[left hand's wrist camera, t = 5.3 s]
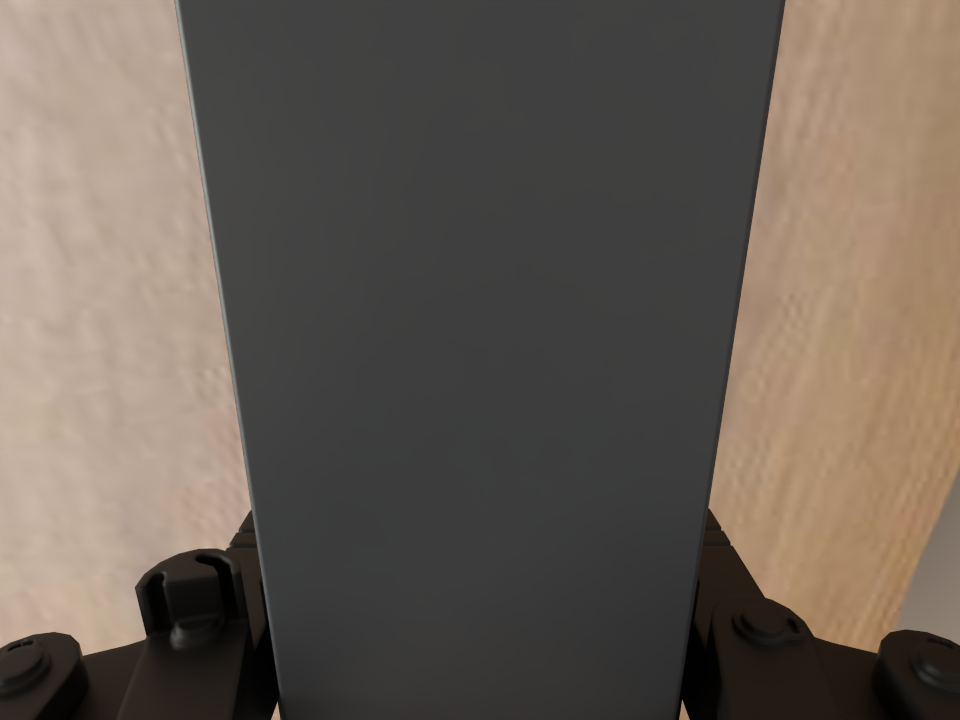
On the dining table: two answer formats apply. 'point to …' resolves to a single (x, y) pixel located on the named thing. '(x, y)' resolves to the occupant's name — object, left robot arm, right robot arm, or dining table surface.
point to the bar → (479, 333)
